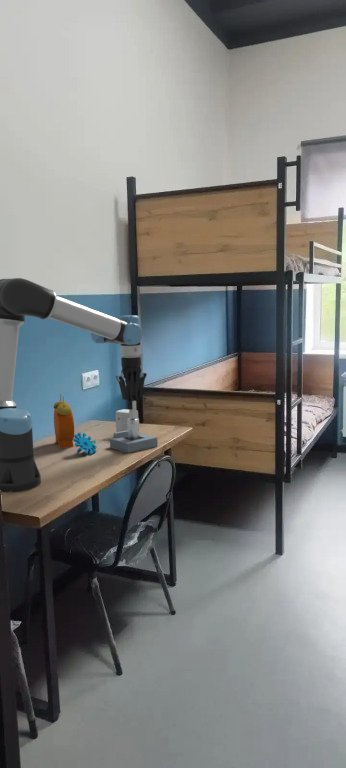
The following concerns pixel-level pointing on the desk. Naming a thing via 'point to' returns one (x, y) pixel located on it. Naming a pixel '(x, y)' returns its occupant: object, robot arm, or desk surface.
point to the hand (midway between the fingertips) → (132, 417)
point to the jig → (132, 442)
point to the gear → (85, 443)
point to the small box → (122, 419)
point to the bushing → (133, 428)
